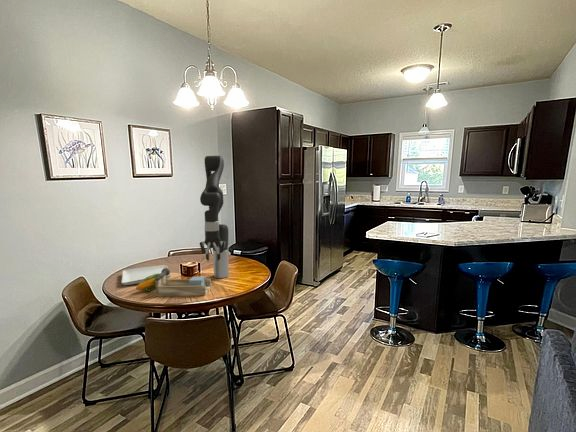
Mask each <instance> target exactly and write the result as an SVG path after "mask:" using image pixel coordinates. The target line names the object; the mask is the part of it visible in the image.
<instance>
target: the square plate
mask: <svg viewBox="0 0 576 432" xmlns="http://www.w3.org/2000/svg"><path fill="white" fill-rule="evenodd" d="M164 268H168V269H169V267H168V265H167V264H161V265H152V266H143V267H137V268H136V267H135V268H130V269H129V268H128V269H124V270H122V271H121V273H122V274H121V282H120V283H121V285H124V286H129V285H130V286H131V285H138V284H140V283H141V282H143V281H145V280H146V279H145V278H146V277H149V276H151V275H154V274H160V273H162V270H163V269H164ZM170 277H172V273H171V272H170V274H169V275H167V279H169V278H170ZM150 278H151V277H150ZM147 279H148V278H147Z"/></svg>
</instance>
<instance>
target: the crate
mask: <svg viewBox="0 0 576 432" xmlns="http://www.w3.org/2000/svg"><path fill="white" fill-rule="evenodd" d="M189 279H190V280H189V286H198V285H205V281H204V279H206V277H205V276H203V275H201V276H192V277H191V278H189Z"/></svg>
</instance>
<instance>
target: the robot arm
mask: <svg viewBox="0 0 576 432" xmlns="http://www.w3.org/2000/svg"><path fill="white" fill-rule="evenodd" d="M224 167H225V163H224V157H223V156H222V155H206V156H205V157H204V169H205V176H206V182H205V188H204V189H203V191H202V193H201V195H200V198H199V201H200V204H201V205H202V206H206V207H208V209H207V210H205V211H204V238H205V239H204V241H200V242H199V246H200V249H201V253H202V254H205V259H206V261H208V262H209V261H210V253H209V252H210V250H211V249H212V258H213V259H212V260H213V277H214V278H215V279H225V278H228V277H229V275H230V274H229V273H230V271H229V267H230V266H229V227H228V225H226V224H220V223H219V213H220V211H221V210H222V208H223V206H224V193H223V191H222V189H221V187H220V180H221V177H222V175H223V171H224ZM205 245H206V248H205Z"/></svg>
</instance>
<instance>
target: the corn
mask: <svg viewBox="0 0 576 432" xmlns="http://www.w3.org/2000/svg"><path fill="white" fill-rule="evenodd" d="M158 275H159V274H154V275H151V276H149V277H146V278H145V279H146V280H145V281H143V282H141V283H139V284H136V287H135V290H137V291H144V292H151V291H153V290H156V283H155V281H156V280H155V277H156V276H158ZM150 277H151V278H150ZM147 278H148V279H147Z"/></svg>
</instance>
